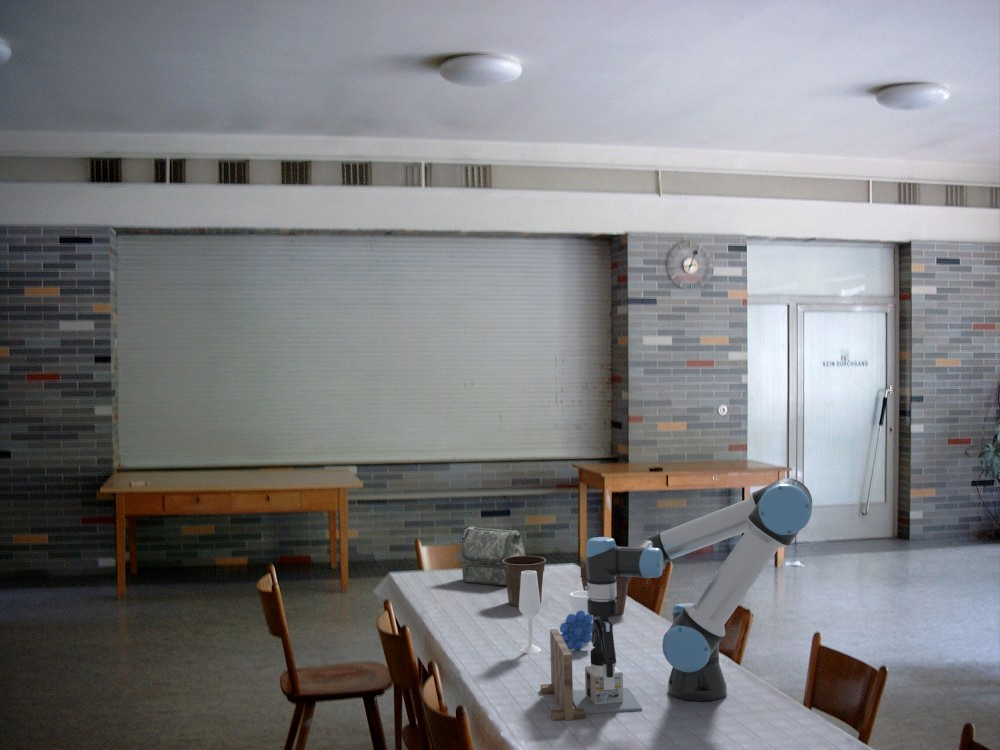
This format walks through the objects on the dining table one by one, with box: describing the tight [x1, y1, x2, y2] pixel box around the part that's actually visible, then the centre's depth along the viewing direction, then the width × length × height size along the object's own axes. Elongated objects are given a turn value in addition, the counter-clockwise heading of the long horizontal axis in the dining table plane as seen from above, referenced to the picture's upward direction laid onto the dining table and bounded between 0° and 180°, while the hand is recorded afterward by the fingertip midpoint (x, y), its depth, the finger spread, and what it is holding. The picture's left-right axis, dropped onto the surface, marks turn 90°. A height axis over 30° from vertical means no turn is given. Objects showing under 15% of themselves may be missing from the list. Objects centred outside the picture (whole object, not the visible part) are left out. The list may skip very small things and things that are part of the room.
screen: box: [539, 628, 586, 721], centre depth 250 cm, size 24×8×16 cm, turn 5°
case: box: [579, 564, 632, 617], centre depth 345 cm, size 18×20×18 cm
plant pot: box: [502, 555, 547, 608], centre depth 360 cm, size 16×16×16 cm
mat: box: [573, 687, 643, 714], centre depth 251 cm, size 16×16×1 cm
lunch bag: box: [458, 525, 527, 587], centre depth 400 cm, size 26×18×22 cm
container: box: [584, 647, 624, 705], centre depth 251 cm, size 8×8×13 cm
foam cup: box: [569, 590, 593, 636], centre depth 316 cm, size 10×9×13 cm
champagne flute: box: [518, 570, 542, 654], centre depth 299 cm, size 7×7×24 cm
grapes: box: [559, 611, 593, 651], centre depth 299 cm, size 12×7×12 cm, turn 103°
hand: (604, 680), depth 251 cm, fingers open, 13 cm apart
